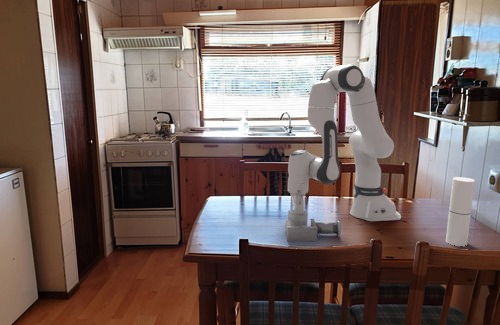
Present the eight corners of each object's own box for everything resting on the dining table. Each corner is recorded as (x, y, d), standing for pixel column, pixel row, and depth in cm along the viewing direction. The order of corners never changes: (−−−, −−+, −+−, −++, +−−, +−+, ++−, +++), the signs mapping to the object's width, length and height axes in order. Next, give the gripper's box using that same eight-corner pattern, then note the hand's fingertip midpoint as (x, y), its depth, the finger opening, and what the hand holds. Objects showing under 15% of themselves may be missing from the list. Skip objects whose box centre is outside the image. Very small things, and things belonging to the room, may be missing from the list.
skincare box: (299, 224, 159) (300, 208, 157) (307, 229, 153) (307, 212, 152) (287, 226, 156) (287, 210, 155) (294, 231, 151) (295, 214, 149)
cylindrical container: (447, 244, 138) (454, 180, 133) (444, 237, 145) (451, 176, 140) (468, 247, 136) (476, 182, 131) (465, 240, 142) (472, 178, 137)
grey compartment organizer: (336, 231, 151) (337, 216, 150) (341, 241, 141) (342, 225, 140) (285, 230, 152) (285, 216, 150) (287, 240, 142) (287, 225, 140)
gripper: (308, 194, 147) (306, 226, 150) (303, 181, 167) (302, 210, 170) (292, 194, 148) (291, 226, 150) (289, 181, 168) (288, 210, 170)
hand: (297, 218), depth 160 cm, fingers closed
